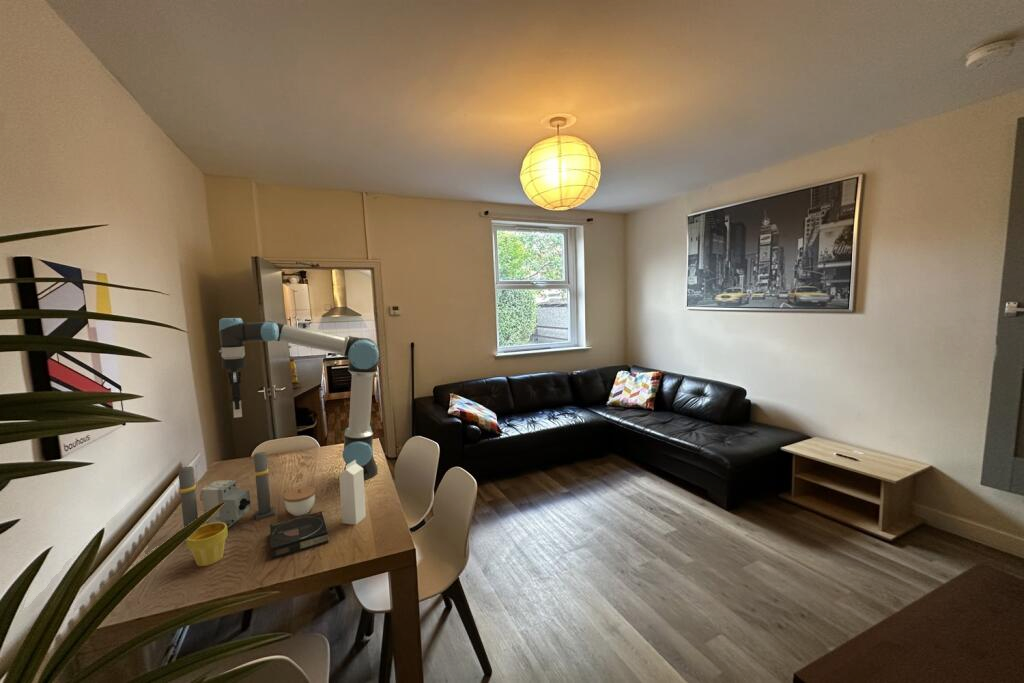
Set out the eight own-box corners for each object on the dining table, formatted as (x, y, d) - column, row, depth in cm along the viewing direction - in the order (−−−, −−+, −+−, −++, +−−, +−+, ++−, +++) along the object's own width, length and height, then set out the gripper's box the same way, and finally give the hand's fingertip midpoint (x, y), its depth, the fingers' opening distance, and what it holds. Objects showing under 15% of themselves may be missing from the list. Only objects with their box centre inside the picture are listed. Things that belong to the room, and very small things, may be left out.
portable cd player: (271, 561, 126) (270, 549, 126) (270, 535, 141) (269, 524, 141) (328, 544, 135) (327, 532, 135) (322, 521, 149) (321, 511, 149)
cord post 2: (273, 508, 159) (268, 449, 156) (274, 515, 154) (270, 454, 151) (255, 513, 155) (250, 453, 153) (256, 520, 150) (251, 458, 148)
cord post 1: (203, 527, 146) (196, 463, 143) (202, 535, 141) (196, 469, 139) (181, 533, 142) (175, 468, 140) (180, 541, 137) (173, 473, 135)
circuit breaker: (242, 529, 144) (238, 489, 143) (203, 530, 144) (199, 489, 143) (255, 518, 152) (252, 480, 150) (218, 518, 152) (215, 480, 150)
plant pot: (183, 574, 120) (180, 543, 119) (194, 555, 130) (191, 526, 129) (225, 565, 124) (222, 535, 124) (233, 546, 134) (230, 518, 133)
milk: (342, 523, 147) (337, 465, 145) (352, 514, 153) (348, 458, 151) (356, 525, 146) (352, 466, 143) (366, 516, 152) (362, 459, 149)
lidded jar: (322, 507, 159) (321, 484, 158) (300, 521, 149) (298, 496, 148) (301, 503, 163) (300, 481, 162) (278, 516, 153) (276, 493, 152)
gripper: (222, 356, 160) (226, 414, 162) (221, 360, 149) (226, 422, 152) (244, 355, 164) (248, 411, 167) (245, 358, 154) (249, 418, 156)
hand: (238, 416), depth 159 cm, fingers closed
